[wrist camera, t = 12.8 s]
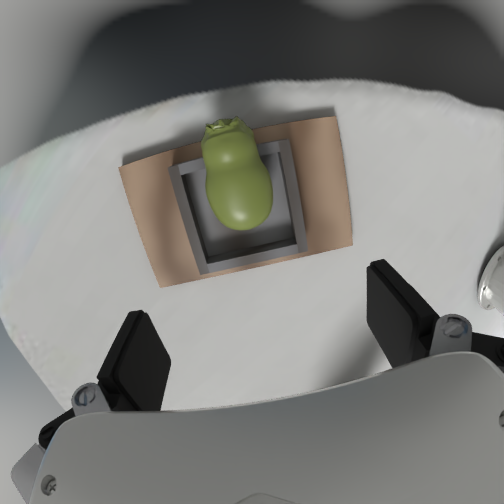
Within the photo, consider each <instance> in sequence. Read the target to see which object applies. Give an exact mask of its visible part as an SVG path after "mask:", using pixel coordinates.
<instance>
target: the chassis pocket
mask: <svg viewBox="0 0 504 504" xmlns="http://www.w3.org/2000/svg"><path fill="white" fill-rule="evenodd" d="M251 130H252V131H253V133H254V140H255V142H256V145H257V149H258V153H259V157H260V159H261V161H262V163H263V164H264V165H265V167H266V168H267V170H268V172H269V175H270V177H271V181H272V186H273V206H272V210H271V212H270V214H269V216H268V218H267V219H266V220H265V221H264V222H263V223H262V224H260V225H259V226H257V227H255V228H252V229H249V230H234V229H231V228H228V227H226V226H225V225H223V224H222V223H221V222H220V221H219V220H218V219H217V217H216V216H215V214H214V213H213V211H212V209H211V207H210V204H209V202H208V199H207V195H206V189H205V181H206V167H205V163H204V160H203V155H202V148H201V141H200V142H197V143H193V144H189V145H186V146H182V147H179V148H175V149H172V150H169V151H166V152H162V153H159V154H156V155H153V156H150V157H147V158H144V159H141V160H138V161H135V162H132V163H129V164H127V165H124V166H121V167H118V168H119V171H120V175H121V178H122V182H123V185H124V188H125V192H126V195H127V198H128V201H129V204H130V207H131V211H132V214H133V217H134V220H135V222H136V225H137V228H138V231H139V234H140V237H141V240H142V242H143V245H144V248H145V250H146V253H147V256H148V258H149V261H150V264H151V266H152V269H153V271H154V274H155V276H156V279H157V281H158V284H159V286H160V288H162V287H167V286H172V285H177V284H181V283H186V282H191V281H196V280H200V279H205V278H210V277H214V276H219V275H224V274H228V273H233V272H238V271H242V270H247V269H251V268H256V267H260V266H265V265H269V264H274V263H278V262H283V261H287V260H291V259H296V258H300V257H305V256H309V255H313V254H318V253H322V252H326V251H330V250H335V249H339V248H343V247H348V246H352V245H353V242H352V229H351V218H350V207H349V198H348V190H347V182H346V174H345V167H344V160H343V153H342V147H341V141H340V135H339V130H338V124H337V119H336V116H332V117H323V118H315V119H308V120H301V121H295V122H289V123H283V124H277V125H271V126H266V127H261V128H256V129H251Z"/></svg>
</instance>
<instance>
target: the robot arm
mask: <svg viewBox="0 0 504 504" xmlns="http://www.w3.org/2000/svg"><path fill="white" fill-rule="evenodd" d="M478 302H479V304H480V306H481V307H483V308H484V309H485V310H491V309H494V308H496V309H497V310H498V311H499V312H500V313H501V314H503V315H504V246H502V247H501V248H500V249H499V250H498V251H496V253H495V254H494V255H493V256H492V258H491V259H490V261H489V262H488V264H487V266H486V268H485V270H484V272H483V275H482V277H481V280H480V284H479V288H478ZM367 323H368V326H369V327H370V329H371V331H372V333H373V334H374V336H375V338H376V339H377V341H378V343H379V345H380V346H381V348H382V350H383V352H384V354H385V355H386V357H387V359H388V361H389V363H390V364H391V366H392V369H389V370H386V371H383V372H380V373H377V374H374V375H370V376H367V377H364V378H360V379H357V380H353V381H350V382H346V383H343V384H339V385H335V386H331V387H327V388H323V389H319V390H315V391H311V392H306V393H301V394H297V395H292V396H287V397H282V398H276V399H271V400H265V401H258V402H252V403H245V404H238V405H230V406H221V407H211V408H200V409H187V410H168V411H160V410H161V405H162V401H163V396H164V392H165V387H166V383H167V379H168V375H169V371H170V366H171V359H170V356H169V355H168V353H167V351H166V349H165V347H164V345H163V343H162V341H161V339H160V337H159V335H158V333H157V331H156V329H155V327H154V325H153V323H152V321H151V319H150V317H149V315H148V314H147V313H144V312H143V311H142V310H138V311H131V312H129V313H128V315H127V317H126V319H125V321H124V323H123V324H122V326H121V328H120V330H119V332H118V334H117V336H116V338H115V340H114V342H113V344H112V346H111V348H110V350H109V352H108V354H107V356H106V358H105V360H104V363H103V365H102V367H101V369H100V371H99V373H98V375H97V379H98V380H99V382H98V384H96V383H86V384H84V385H82V386H80V387H79V388H78V389H77V390H76V391H75V392H74V394H73V396H72V399H71V402H72V406H73V408H71V409H70V410H68V411H67V412H65V413H64V414H62V415H61V416H59V417H57V418H56V419H54V420H53V421H51V422H50V423H48V424H47V425H45V426H44V427H43V428H42V429H41V431H40V434H39V445H38V444H37V443H35V444H34V445H33V446H32V447H31V448H30V449H29V450H28V451H27V452H26V453H25V454H24V456H23V457H22V458H21V459H20V460H19V461H18V462H17V463H16V464H15V465H14V467H13V468H12V471H11V478H12V481H13V482H14V484H15V486H16V488H17V489H18V491H19V492H20V494H21V495H22V497H23V499H24V500H25V502H26V504H504V338H500V337H495V336H490V335H485V334H480V333H475V332H472V325H471V323H470V322H469V321H468V320H467V319H466V318H465V317H463V316H461V315H457V314H448V315H444V316H442V317H440V316H439V315H438V314H437V313H436V312H435V311H434V310H433V309H432V308H431V306H430V305H429V304H428V303H427V302H426V301H425V300H424V299H423V298H422V297H421V296H420V294H419V293H418V292H417V291H416V290H415V289H414V288H413V287H412V286H411V285H410V284H408V283H407V282H406V281H405V280H404V279H403V278H402V276H401V275H400V274H399V273H398V272H397V271H396V270H395V269H394V268H393V267H392V266H391V265H390V264H389V263H388V262H387V261H386V260H384V259H381V260H377V261H373V262H371V263H370V266H368V267H367Z"/></svg>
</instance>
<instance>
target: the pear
mask: <svg viewBox="0 0 504 504" xmlns="http://www.w3.org/2000/svg"><path fill="white" fill-rule="evenodd" d="M221 122H222V123H221ZM206 125H207V126H206V130H205V136H204V137H203V139H202V141H201V148H202V155H203V160H204V163H205V167H206V181H205V189H206V195H207V199H208V202H209V204H210V207H211V209H212V211H213V213H214V214H215V216H216V217H217V219H218V220H219V221H220V222H221V223H222V224H223V225H225V226H226V227H228V228H231V229H234V230H249V229H252V228H255V227H257V226H259V225H260V224H262V223H263V222H264V221H265V220H266V219H267V218H268V216H269V214H270V212H271V210H272V206H273V186H272V181H271V177H270V175H269V172H268V170H267V168H266V167H265V165H264V164H263V163H262V161H261V159H260V157H259V153H258V149H257V145H256V142H255V140H254V133H253V131H252V130H251V129H250V128H249V127H247V126H246V125H245V123H244V122H243V121H242V120H240V119H239V118H238V116H236V117H235V118H234V119H233V120H232V119H230V120H229V119H221V121H220V119H219V120H217V121H216V122H215V123H214V124H206Z"/></svg>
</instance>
